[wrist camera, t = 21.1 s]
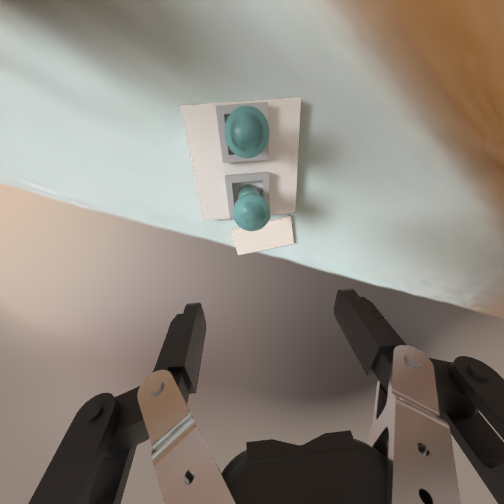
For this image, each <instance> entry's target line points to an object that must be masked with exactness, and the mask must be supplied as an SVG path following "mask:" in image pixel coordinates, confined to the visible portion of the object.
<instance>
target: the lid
mask: <svg viewBox="0 0 504 504" xmlns="http://www.w3.org/2000/svg"><path fill="white" fill-rule="evenodd" d="M231 233H232V236H233V240H234V243H235V246H236V250H237V253H238V255H241V254H246V253H251V252H256V251H261V250H265V249H270V248H275V247H279V246H284V245H289V244H293V243H294V240H293V231H292V222H291V216H290V215H289V216H285V217H280V218H276V219H271V220H269V221H268V223H267V224H266V225H265V226H264V227H263V228H262V229H260V230H257V231H246V230H244V229H242V228H240V227H235V228H231Z"/></svg>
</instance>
